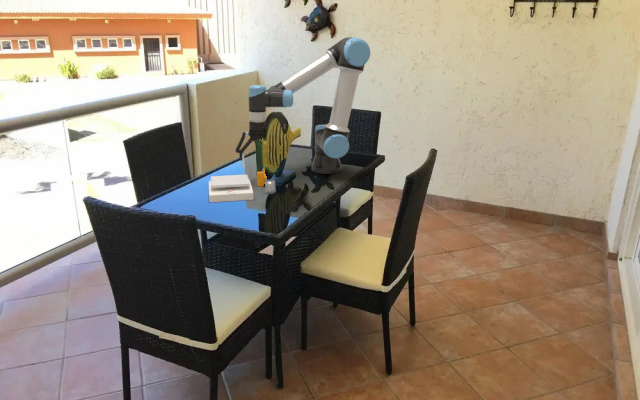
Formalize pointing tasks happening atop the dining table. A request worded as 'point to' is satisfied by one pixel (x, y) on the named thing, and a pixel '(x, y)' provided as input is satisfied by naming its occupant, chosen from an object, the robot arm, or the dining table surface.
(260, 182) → the pipe clamp
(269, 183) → the block
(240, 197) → the scale
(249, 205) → the dining table surface
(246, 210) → the dining table surface
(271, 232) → the dining table surface
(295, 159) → the dining table surface
